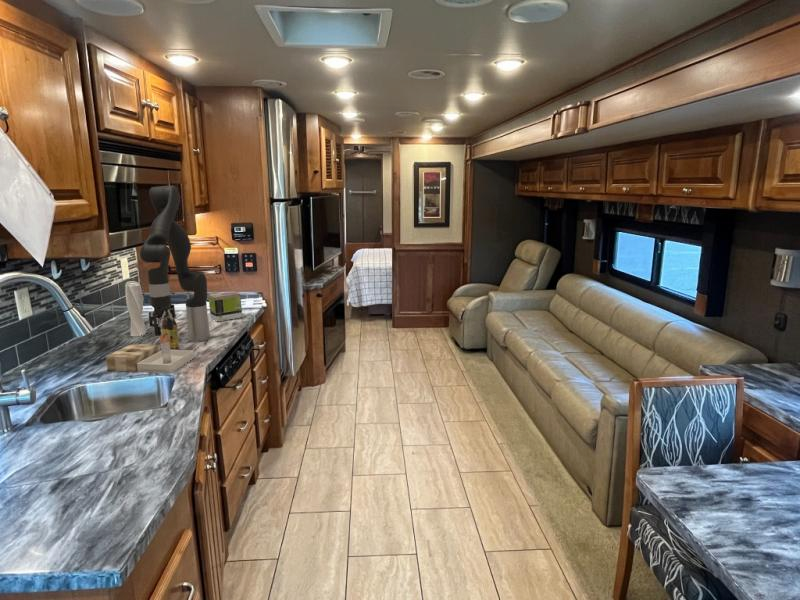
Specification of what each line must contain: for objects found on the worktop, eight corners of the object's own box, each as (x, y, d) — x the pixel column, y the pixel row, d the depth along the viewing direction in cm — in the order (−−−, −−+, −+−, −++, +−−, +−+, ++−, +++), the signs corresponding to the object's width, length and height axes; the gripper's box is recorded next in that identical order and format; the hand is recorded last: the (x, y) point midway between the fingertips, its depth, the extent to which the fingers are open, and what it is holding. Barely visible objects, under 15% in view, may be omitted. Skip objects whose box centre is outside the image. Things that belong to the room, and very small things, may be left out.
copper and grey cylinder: (165, 360, 200) (162, 333, 197) (172, 361, 199) (169, 333, 197) (161, 363, 197) (158, 335, 194) (168, 363, 196) (165, 335, 194)
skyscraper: (141, 337, 235) (135, 281, 229) (126, 337, 235) (119, 281, 229) (150, 332, 243) (144, 279, 237) (135, 332, 243) (129, 278, 237)
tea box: (236, 315, 279) (234, 290, 276) (242, 318, 272) (241, 293, 269) (210, 319, 270) (208, 293, 267) (216, 322, 263) (214, 296, 259)
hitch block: (133, 357, 207) (131, 343, 206) (159, 358, 206) (157, 345, 204) (107, 370, 192) (105, 356, 190) (135, 371, 190) (133, 357, 189)
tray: (164, 356, 208) (163, 349, 207) (194, 358, 206) (193, 350, 205) (137, 371, 190) (136, 363, 189) (170, 373, 189) (169, 365, 188)
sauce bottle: (173, 352, 213) (168, 309, 208) (160, 351, 214) (156, 309, 210) (182, 348, 219) (178, 306, 215) (170, 347, 220) (166, 305, 216)
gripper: (161, 290, 199) (165, 327, 202) (140, 297, 185) (145, 337, 189) (178, 290, 198) (182, 328, 202) (158, 298, 184) (162, 338, 188)
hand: (164, 332), depth 195 cm, fingers open, 8 cm apart
